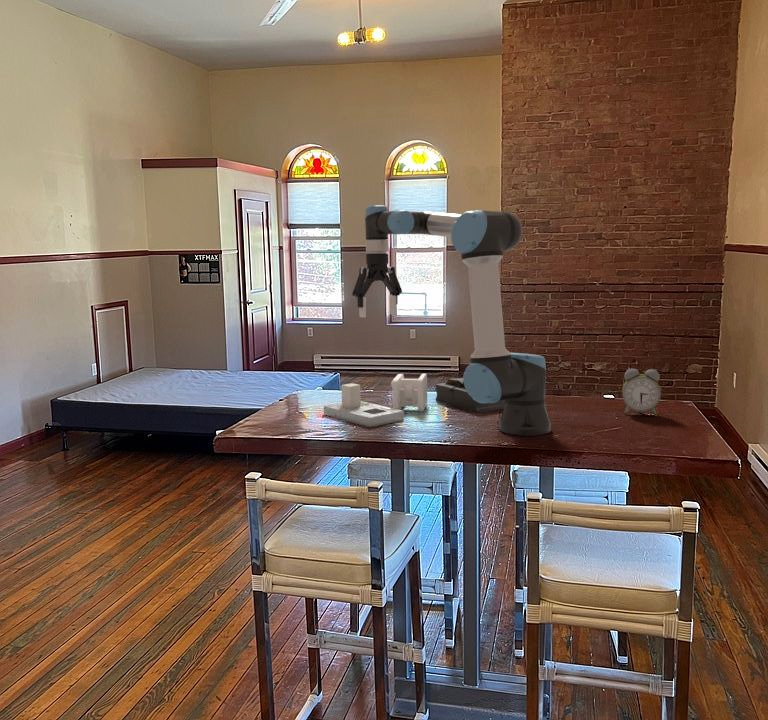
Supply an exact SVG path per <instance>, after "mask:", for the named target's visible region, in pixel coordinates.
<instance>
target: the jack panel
mask: <svg viewBox="0 0 768 720" xmlns="http://www.w3.org/2000/svg"><path fill="white" fill-rule="evenodd" d="M404 414H405V411H404V410H401V409H400V410H398V409H394V408H393V407H389V406H385V405H380V404H377V403H373V402H366V401H362V400H361V406H360V407H355V408H346V407H342V402H338V403H333V404H329V405H323V415H324V416H326V415H327V416H326V417H330V416H331V417H330V418H334V417H335V418H334V419H337V418H338V420H341V419H342V421H344V422H348V423H353V424H356V425H361V426H363V427H368V428H373V427H378V426H382V425H388V424H393V423H396V422H400V421H404V420H405V415H404Z"/></svg>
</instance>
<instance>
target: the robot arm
mask: <svg viewBox="0 0 768 720" xmlns="http://www.w3.org/2000/svg"><path fill="white" fill-rule="evenodd" d="M364 221H365V224H364V225H365V226H364V227H365V252H367V253H366V254H365V263H366V266H367V267H359V272H358V277H357V280H356V283H355V284H354V285H355V286H354V288H353V291H352V296H353V297H355V298H356V299H357V308H359V309H358V312H359V315H358V316H359V318H364V319H365V318H367V301H366V300H367V298H366V297H365V296H366V294H367V292H368V291H369V289H370V288H371V286H372V284H373V283H374V282H375V281H381V282H382V283H383V284H384V285H385V287H386V288H387V289H386V290H388V292H389V293H390V295H389V315H393V316H395V315H397V305H398V301H399V300H398V299H399V298H398V296H400V294H402V293H403V290H402V287H401V284H400V282H399V280H398V277H397V274H396V268H395V266H388V264H389V254H388V253H387V252H389V235H429V236H436V237H437V236H439V237H446V238H450V240H451V244H452V247H453V248H454V249H455V250H456V252H458V253H459V254H460V257H461V262H462V263H464V265H466V266H467V272H468V273H467V274H468V283H469V284H468V285H469V296H470V308H471V322H472V330H473V331H472V334H473V343H474V345H473V346H474V351H473V352H472V353H471V354H470V356H469V360H470V364H469V365H468V366H466V368H465V371H464V372H463V376H462V378H463V381H464V386H465V389H466V391H467V393H468V394H469V395H470V396H471V397H472V399H474V400H475V401H477V402H479V403H496V402H498V401H503V400H505V407H504V409H502V413H501V416H500V419H499V422H498V429H499V431H500V432H502V433H504V434H507V435H514V436H525V437H526V436H527V437H528V436H529V437H530V436H531V437H532V436H541V435H546V434H548V433H550V432H551V431H552V430H551V428H552V427H551V420H550V418H549V415H548V410H547V408H546V383H547V382H546V379H547V378H546V377H547V376H546V375H547V373H546V372H547V368H546V358H545V357H544V356H542V355H539V354H532V353H531V354H530V353H522V352H511V351H509V350H508V349H507V348H506V341H505V340H506V339H505V331H504V317H503V307H502V292H501V281H500V280H501V279H500V270H499V263H500V261H501V260H502V259H503V258H504V253H505V252H508V251H511V250H513V249H514V248H516V246H518V244H519V243H520V241H521V240H522V236H523V225H522V223H521V220H520V219H519V218H518V216H516V215H515V214H513V213H511V212H508V211H505V210H504V211H503V210H500V211H496V210H481V209H477V210H468V211H465V212H462V213H461V214H460V213H449V212H441V211H439V212H438V211H435V210H434V211H433V210H428V211H426V210H425V211H424V210H423V211H422V210H421V211H419V210H418V211H415V210H406V209H395V210H389V209H388V206H386V205H369V206H366V208H365V215H364Z"/></svg>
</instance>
